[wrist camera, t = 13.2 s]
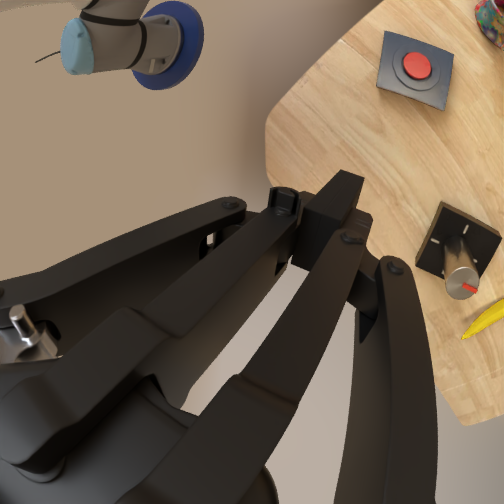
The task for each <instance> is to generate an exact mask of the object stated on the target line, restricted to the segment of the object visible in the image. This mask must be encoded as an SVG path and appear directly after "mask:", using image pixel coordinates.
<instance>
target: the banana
mask: <svg viewBox="0 0 504 504" xmlns="http://www.w3.org/2000/svg"><path fill="white" fill-rule="evenodd" d="M503 317H504V299H502V300H500V301H498V302H497V303H495V304H494V305H492V306H491V307H490V308H488V309H487V310H486V311H485V312H483V313H482V314H481V315H480V316H479V317H478V318H477V319H476V320H475V321H474V322H473V323H472V324H471V326H470V327H469V328H468V329H467V331H466V332H465V333H464V335H463V336H462V338H461V340H463V339H466V338H468V337H471V336H472V335H474V334H476V333H478V332H480V331H481V330H483V329H484V328H486V327H488V326H489V325H491V324H493V323H494V322H496V321H498V320H500V319H501V318H503Z"/></svg>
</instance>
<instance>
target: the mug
mask: <svg viewBox="0 0 504 504" xmlns="http://www.w3.org/2000/svg"><path fill="white" fill-rule="evenodd" d="M475 16H476V20H477V22H478V24H479V26H480V28H481V30H482V31H483V32H484V34H485V35H486V36H487V37H488V38H489V39H490V40H491V41H492V42H493V43H494V44H496V45H497V46H499V48H500V49H501V50H503V51H504V0H483V1H480V2H479V3H478V4H477V5H476V8H475Z"/></svg>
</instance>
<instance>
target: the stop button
mask: <svg viewBox="0 0 504 504" xmlns="http://www.w3.org/2000/svg"><path fill="white" fill-rule="evenodd" d="M404 69H405V71H406V73H407V74H408V75H409V76H410V77H412V78H414V79H417V80H422V79H425V78H426V77H427V76H428V75H429V74H430V72H431V65H430V62H429V60H428V59H427V58H426V57H425V56H424V55H422V54H420V53H418V52H411V53H409V54H407V55H406V56H405V58H404Z"/></svg>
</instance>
